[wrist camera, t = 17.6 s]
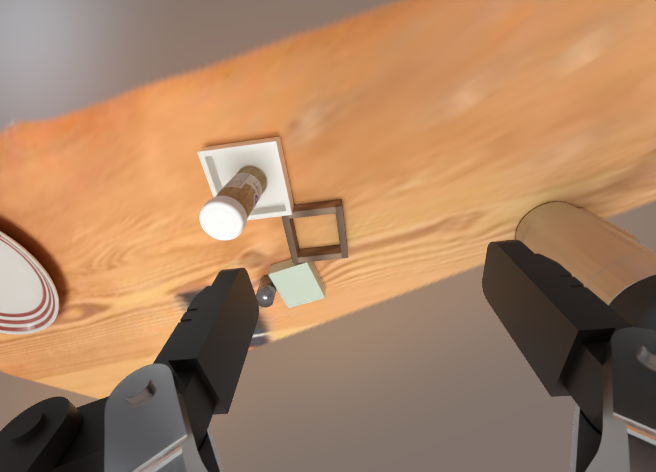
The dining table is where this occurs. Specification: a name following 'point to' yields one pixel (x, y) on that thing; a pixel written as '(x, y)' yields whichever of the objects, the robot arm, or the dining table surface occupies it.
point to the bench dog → (266, 292)
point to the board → (297, 282)
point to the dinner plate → (24, 291)
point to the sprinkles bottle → (233, 204)
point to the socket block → (317, 252)
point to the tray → (258, 153)
